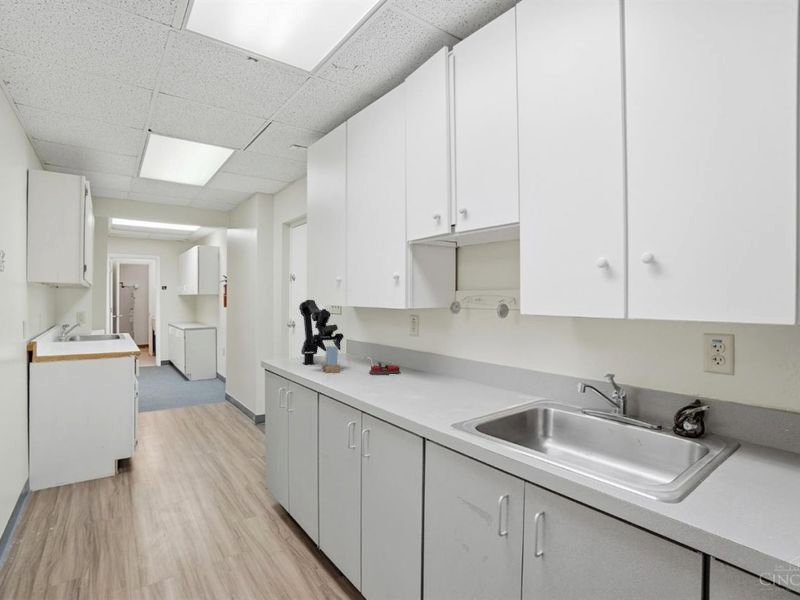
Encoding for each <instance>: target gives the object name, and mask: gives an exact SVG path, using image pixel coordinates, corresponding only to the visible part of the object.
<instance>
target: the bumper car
mask: <svg viewBox="0 0 800 600" xmlns="http://www.w3.org/2000/svg"><path fill="white" fill-rule="evenodd" d="M364 358H365V359H367V358H368V359H370V361H371V365H370V369H369V374H370V375H371V374H372V376H390V375H389V374H397V375H400V374H401V371H400V366H398V365H390V364H386V365H384V366H382V362H381V361H378V365H374V363H373V360H372V358H371V357H369V356H365V357H364ZM399 373H400V374H399Z"/></svg>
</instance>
